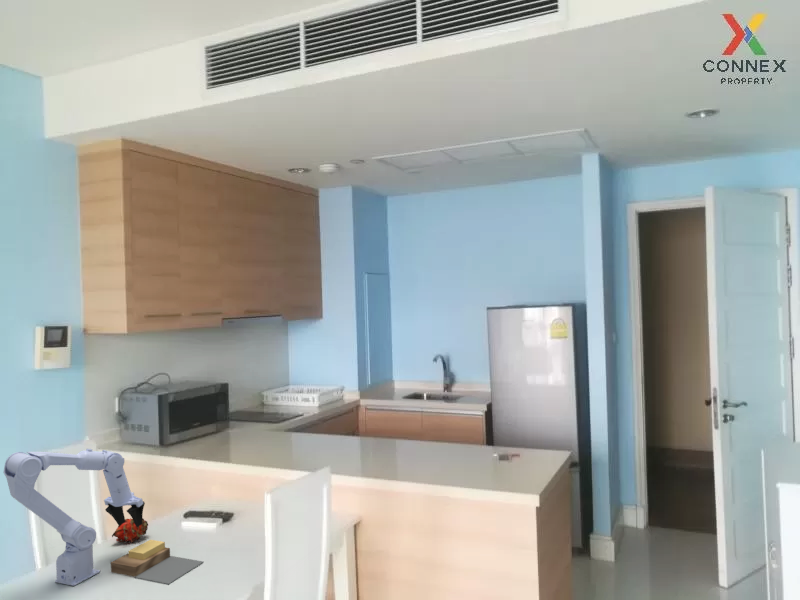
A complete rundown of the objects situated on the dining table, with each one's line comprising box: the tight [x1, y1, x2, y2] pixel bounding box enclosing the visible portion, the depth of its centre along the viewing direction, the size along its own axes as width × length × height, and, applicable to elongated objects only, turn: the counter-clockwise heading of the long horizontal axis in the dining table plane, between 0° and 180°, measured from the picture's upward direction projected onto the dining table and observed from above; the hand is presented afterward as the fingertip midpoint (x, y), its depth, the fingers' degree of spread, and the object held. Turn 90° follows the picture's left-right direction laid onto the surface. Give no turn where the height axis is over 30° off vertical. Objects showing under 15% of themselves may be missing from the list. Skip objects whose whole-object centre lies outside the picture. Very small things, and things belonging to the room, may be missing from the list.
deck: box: [110, 546, 171, 578], centre depth 187 cm, size 14×10×3 cm
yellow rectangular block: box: [127, 539, 166, 560], centre depth 189 cm, size 9×6×2 cm, turn 158°
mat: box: [134, 555, 205, 586], centre depth 183 cm, size 15×13×1 cm
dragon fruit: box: [111, 517, 149, 543], centre depth 206 cm, size 8×8×12 cm
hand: (130, 524), depth 194 cm, fingers open, 7 cm apart
